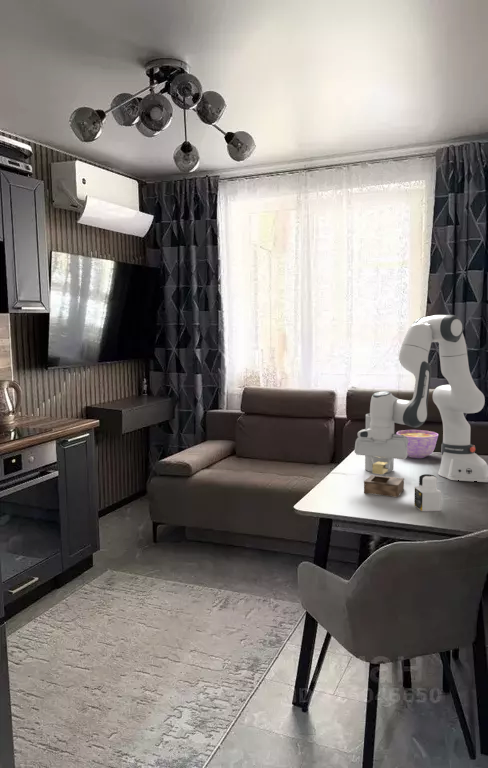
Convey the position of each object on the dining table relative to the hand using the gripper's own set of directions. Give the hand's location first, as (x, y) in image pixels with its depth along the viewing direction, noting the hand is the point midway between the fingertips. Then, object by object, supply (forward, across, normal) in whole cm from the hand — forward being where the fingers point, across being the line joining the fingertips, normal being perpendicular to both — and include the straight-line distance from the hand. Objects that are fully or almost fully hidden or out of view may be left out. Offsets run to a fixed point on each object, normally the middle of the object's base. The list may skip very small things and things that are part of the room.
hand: (380, 467), depth 229 cm
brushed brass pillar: (+2, 0, 0) cm, 2 cm away
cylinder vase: (+9, +8, -33) cm, 35 cm away
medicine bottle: (+10, -21, +14) cm, 27 cm away
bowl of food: (+9, -2, -68) cm, 68 cm away
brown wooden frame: (+9, -2, 0) cm, 9 cm away
